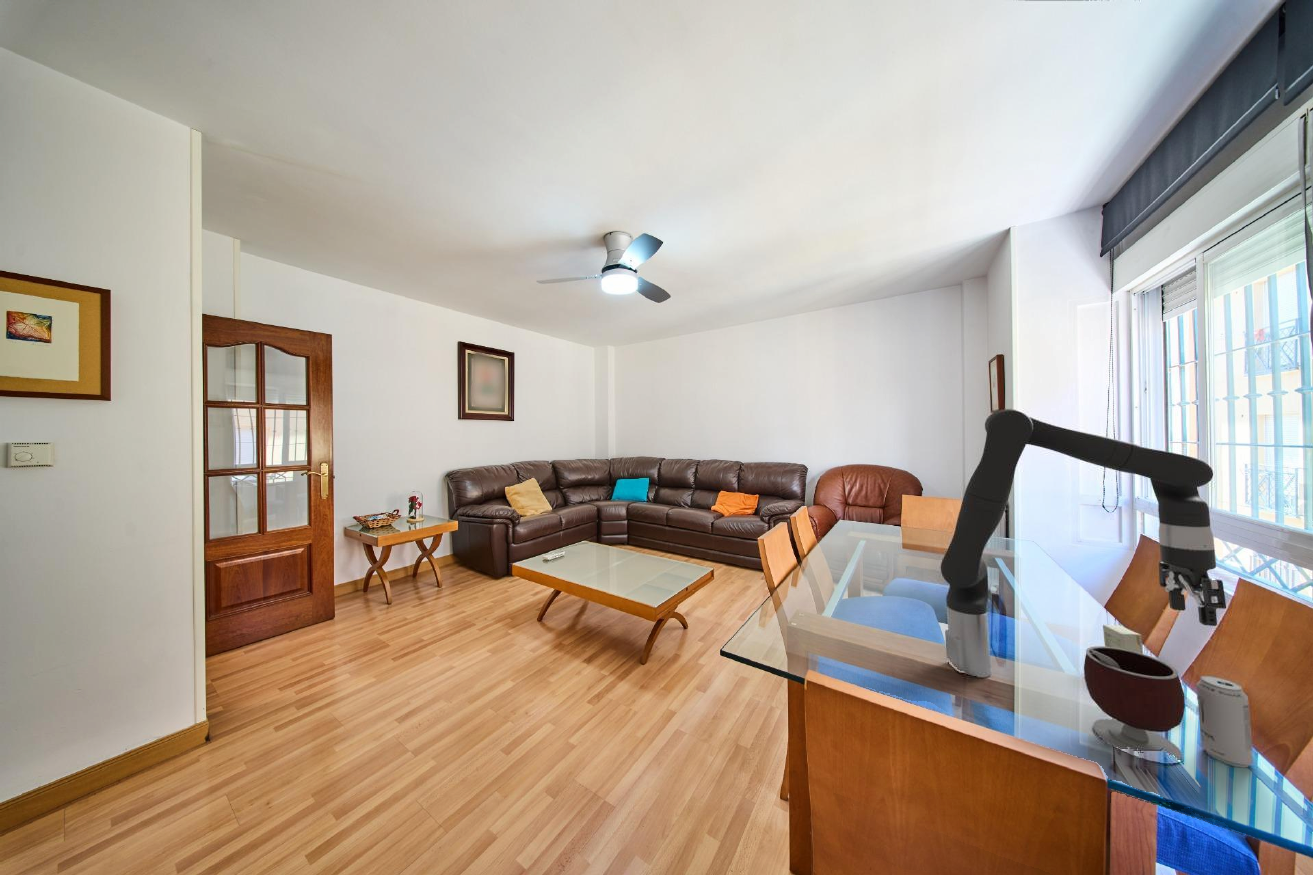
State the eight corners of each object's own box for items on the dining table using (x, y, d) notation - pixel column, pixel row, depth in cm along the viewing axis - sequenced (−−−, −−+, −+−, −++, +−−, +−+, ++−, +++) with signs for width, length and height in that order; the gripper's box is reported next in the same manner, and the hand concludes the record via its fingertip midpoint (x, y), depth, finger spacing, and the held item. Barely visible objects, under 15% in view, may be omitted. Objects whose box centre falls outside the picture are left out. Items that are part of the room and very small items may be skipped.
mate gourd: (1127, 717, 93) (1121, 630, 93) (1212, 764, 79) (1204, 662, 80) (1063, 722, 92) (1057, 634, 93) (1137, 770, 79) (1129, 667, 79)
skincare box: (1146, 682, 105) (1143, 635, 106) (1126, 681, 106) (1123, 634, 107) (1123, 668, 112) (1120, 624, 112) (1105, 667, 113) (1101, 623, 113)
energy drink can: (1198, 742, 85) (1192, 670, 85) (1248, 756, 81) (1242, 681, 81) (1205, 758, 81) (1199, 683, 81) (1258, 775, 76) (1252, 695, 77)
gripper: (1239, 553, 82) (1247, 633, 82) (1185, 538, 95) (1191, 606, 95) (1186, 551, 85) (1193, 628, 85) (1140, 536, 98) (1146, 603, 98)
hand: (1192, 616), depth 90 cm, fingers open, 8 cm apart
